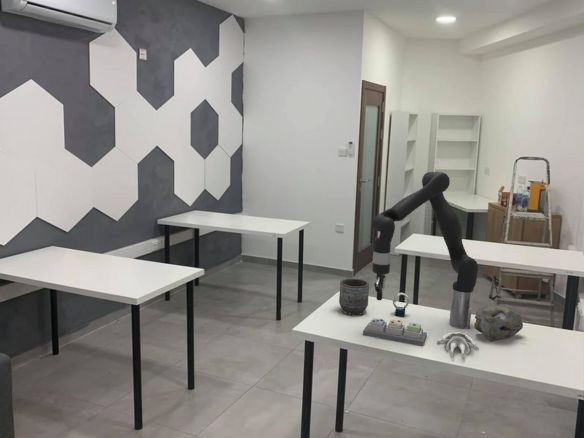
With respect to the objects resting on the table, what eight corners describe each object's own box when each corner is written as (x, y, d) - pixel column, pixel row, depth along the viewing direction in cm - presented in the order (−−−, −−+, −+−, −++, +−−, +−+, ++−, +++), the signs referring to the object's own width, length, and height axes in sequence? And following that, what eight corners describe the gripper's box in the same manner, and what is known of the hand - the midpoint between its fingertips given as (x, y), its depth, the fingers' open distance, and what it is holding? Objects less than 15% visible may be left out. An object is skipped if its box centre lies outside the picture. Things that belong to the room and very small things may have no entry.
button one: (420, 331, 225) (421, 323, 224) (418, 335, 220) (419, 327, 219) (408, 329, 227) (409, 321, 226) (406, 333, 222) (407, 325, 221)
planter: (336, 314, 250) (338, 285, 247) (340, 305, 264) (342, 276, 261) (365, 318, 247) (367, 288, 244) (368, 308, 260) (370, 279, 258)
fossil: (466, 335, 230) (469, 303, 227) (496, 326, 242) (500, 296, 239) (494, 347, 218) (497, 314, 215) (524, 337, 230) (528, 305, 227)
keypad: (426, 336, 227) (427, 327, 226) (422, 346, 217) (423, 336, 216) (369, 326, 237) (369, 317, 236) (362, 335, 227) (363, 325, 226)
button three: (384, 327, 231) (384, 319, 230) (381, 331, 226) (382, 323, 226) (373, 325, 233) (373, 317, 232) (370, 329, 228) (370, 321, 227)
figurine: (479, 364, 202) (478, 341, 225) (481, 344, 200) (480, 322, 224) (434, 357, 207) (438, 335, 231) (436, 337, 206) (439, 317, 229)
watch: (392, 311, 256) (393, 290, 254) (408, 314, 254) (410, 292, 252) (390, 315, 251) (392, 294, 249) (407, 318, 249) (409, 296, 247)
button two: (402, 328, 228) (402, 320, 227) (399, 332, 223) (400, 324, 222) (390, 326, 230) (391, 318, 229) (388, 330, 225) (389, 322, 224)
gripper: (386, 266, 216) (384, 305, 220) (393, 259, 228) (390, 296, 232) (369, 264, 219) (367, 303, 222) (376, 257, 231) (374, 294, 234)
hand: (379, 299), depth 227 cm, fingers closed
